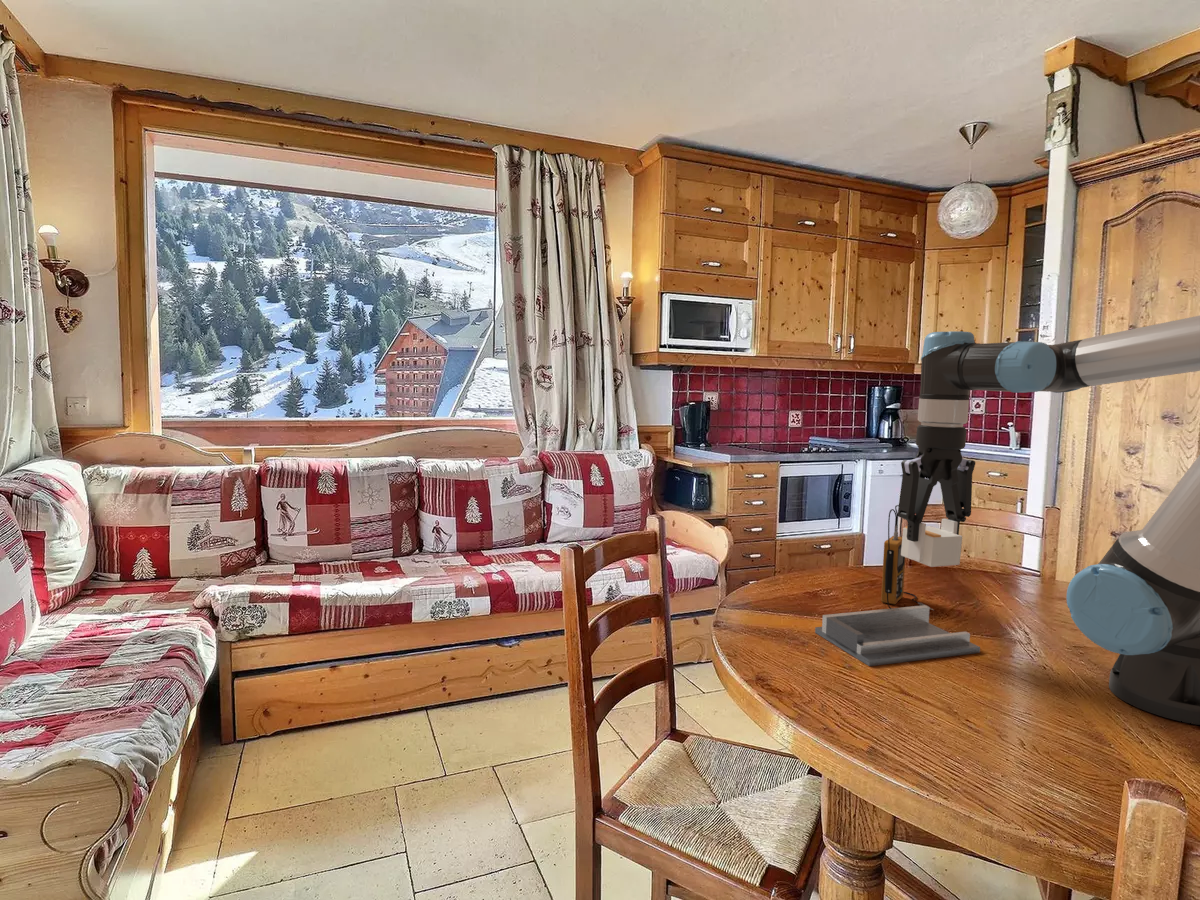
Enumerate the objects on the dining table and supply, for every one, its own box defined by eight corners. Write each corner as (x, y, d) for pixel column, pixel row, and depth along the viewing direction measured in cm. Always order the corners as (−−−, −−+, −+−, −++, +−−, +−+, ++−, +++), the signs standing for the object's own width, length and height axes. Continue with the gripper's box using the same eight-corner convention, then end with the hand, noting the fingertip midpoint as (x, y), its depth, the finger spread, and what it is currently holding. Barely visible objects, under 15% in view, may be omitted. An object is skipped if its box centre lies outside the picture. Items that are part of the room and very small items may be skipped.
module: (959, 564, 113) (962, 534, 113) (930, 566, 111) (933, 535, 111) (928, 553, 120) (931, 524, 119) (900, 555, 118) (903, 525, 117)
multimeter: (929, 618, 130) (935, 517, 128) (875, 607, 136) (880, 510, 134) (944, 599, 141) (950, 506, 139) (894, 590, 147) (899, 501, 145)
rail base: (979, 652, 113) (981, 629, 113) (869, 666, 107) (870, 642, 107) (915, 622, 128) (916, 601, 127) (815, 632, 122) (815, 611, 121)
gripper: (967, 422, 119) (957, 549, 122) (879, 423, 113) (870, 555, 116) (1004, 426, 112) (992, 560, 115) (912, 426, 106) (901, 568, 109)
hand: (931, 557), depth 115 cm, fingers closed on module, 6 cm apart
